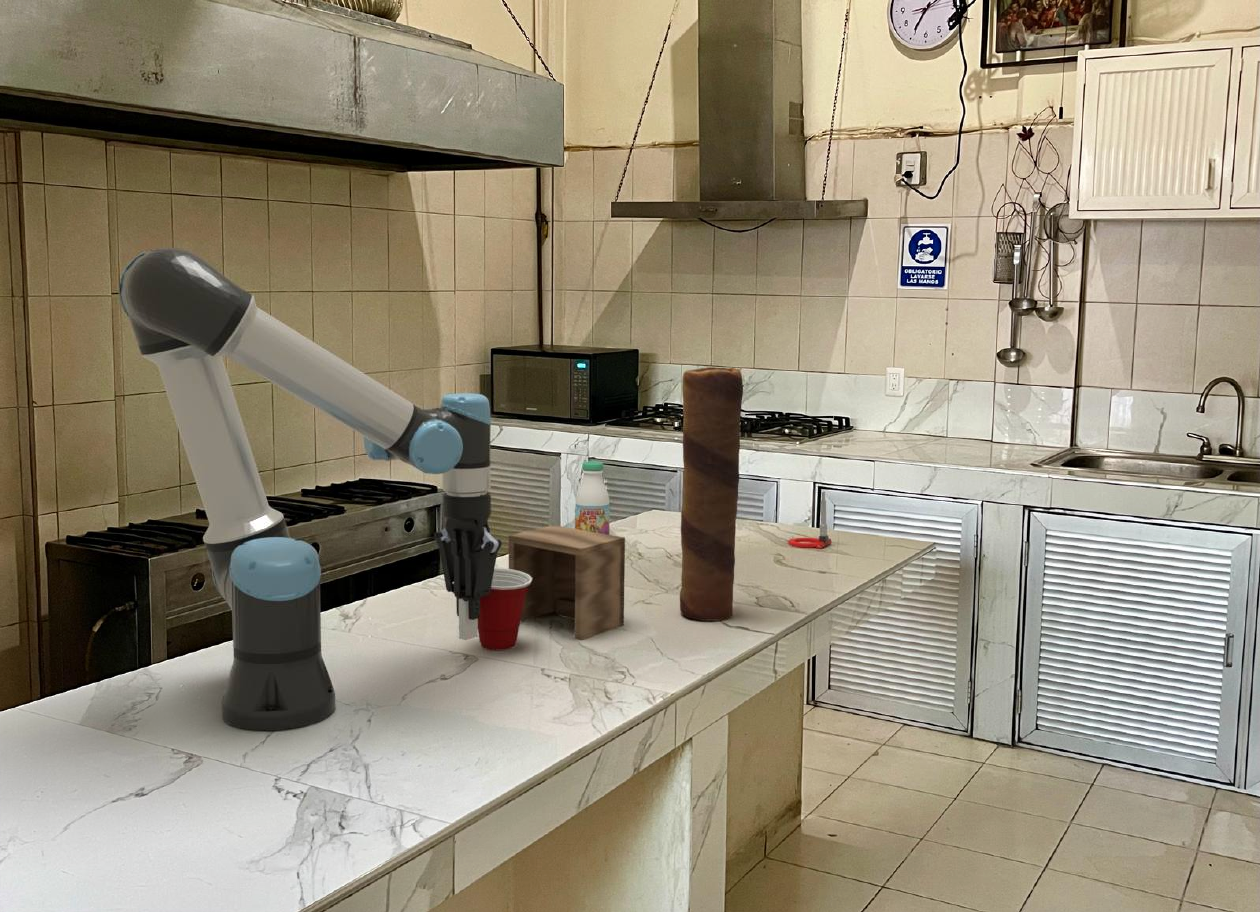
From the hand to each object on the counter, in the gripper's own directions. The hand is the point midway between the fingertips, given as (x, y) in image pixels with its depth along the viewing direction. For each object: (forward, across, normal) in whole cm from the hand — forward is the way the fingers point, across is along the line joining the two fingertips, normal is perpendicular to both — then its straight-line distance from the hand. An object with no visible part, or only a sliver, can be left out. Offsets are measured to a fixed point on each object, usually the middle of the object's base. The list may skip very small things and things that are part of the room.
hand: (468, 637), depth 193 cm
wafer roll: (+4, -16, -45) cm, 48 cm away
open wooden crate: (+3, 0, -24) cm, 25 cm away
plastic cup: (+3, 0, -7) cm, 8 cm away
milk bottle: (+4, +34, -73) cm, 81 cm away
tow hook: (+4, +1, -111) cm, 111 cm away
